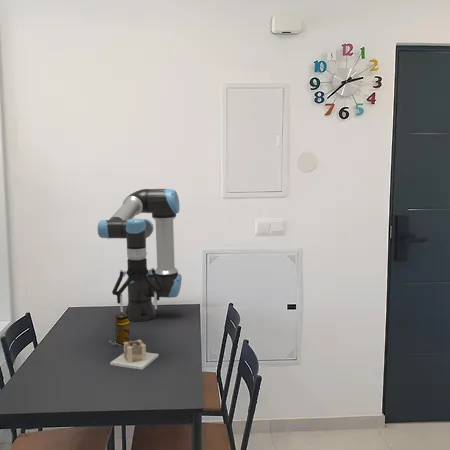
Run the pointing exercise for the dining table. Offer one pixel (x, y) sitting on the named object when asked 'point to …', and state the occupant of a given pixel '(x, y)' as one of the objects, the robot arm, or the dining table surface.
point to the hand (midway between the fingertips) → (138, 309)
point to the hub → (135, 365)
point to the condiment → (122, 329)
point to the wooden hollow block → (134, 351)
